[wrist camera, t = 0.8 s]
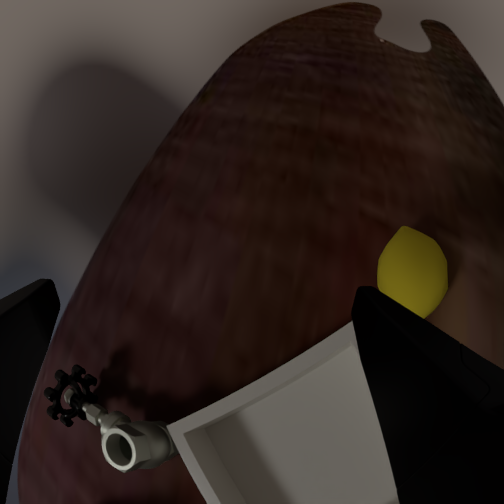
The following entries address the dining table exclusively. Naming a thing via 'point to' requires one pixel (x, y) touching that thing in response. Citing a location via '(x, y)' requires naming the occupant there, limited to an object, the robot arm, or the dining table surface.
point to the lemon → (413, 271)
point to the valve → (111, 425)
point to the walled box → (293, 435)
